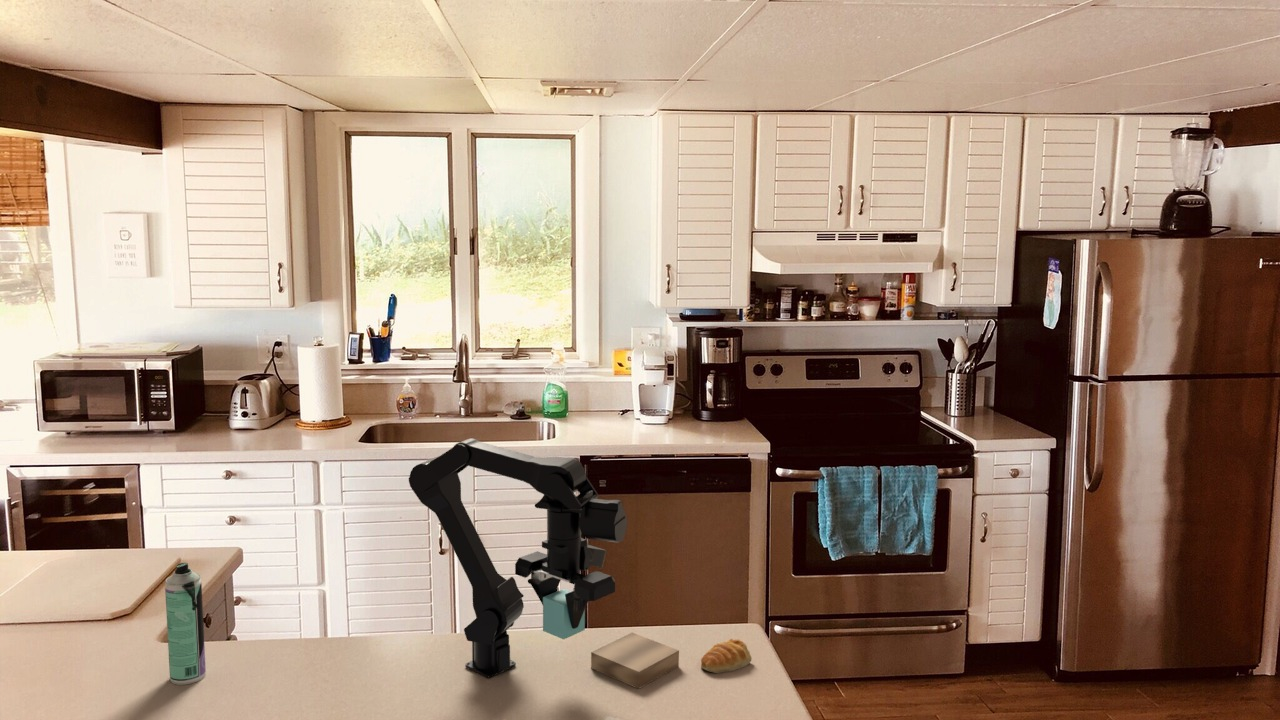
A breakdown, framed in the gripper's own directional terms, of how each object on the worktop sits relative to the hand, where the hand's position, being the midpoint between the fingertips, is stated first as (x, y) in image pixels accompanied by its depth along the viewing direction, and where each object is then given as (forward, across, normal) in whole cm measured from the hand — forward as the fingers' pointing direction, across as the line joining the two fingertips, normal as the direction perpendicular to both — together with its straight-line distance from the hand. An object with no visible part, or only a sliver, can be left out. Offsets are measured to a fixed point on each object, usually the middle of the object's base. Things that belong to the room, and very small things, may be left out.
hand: (563, 623), depth 157 cm
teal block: (+1, 0, 0) cm, 1 cm away
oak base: (+10, -6, -12) cm, 17 cm away
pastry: (+11, -17, -24) cm, 32 cm away
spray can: (+10, +48, +42) cm, 65 cm away
